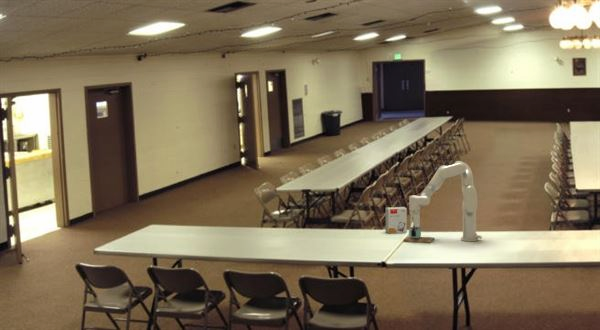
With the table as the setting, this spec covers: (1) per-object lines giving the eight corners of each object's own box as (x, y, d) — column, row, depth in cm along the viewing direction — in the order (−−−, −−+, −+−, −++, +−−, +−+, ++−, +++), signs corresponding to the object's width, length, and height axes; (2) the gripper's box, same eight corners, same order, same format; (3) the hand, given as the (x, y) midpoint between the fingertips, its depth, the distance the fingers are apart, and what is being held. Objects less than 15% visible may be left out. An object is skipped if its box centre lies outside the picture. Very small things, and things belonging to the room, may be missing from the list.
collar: (420, 235, 539) (420, 228, 539) (418, 237, 533) (418, 230, 532) (411, 235, 542) (411, 227, 542) (409, 237, 536) (409, 229, 535)
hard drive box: (387, 234, 563) (387, 209, 561) (385, 232, 571) (385, 207, 569) (407, 232, 565) (406, 208, 563) (404, 230, 573) (404, 206, 571)
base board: (434, 239, 539) (434, 232, 538) (429, 243, 526) (429, 236, 526) (408, 237, 547) (408, 230, 547) (403, 241, 535) (403, 234, 534)
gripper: (416, 214, 526) (416, 237, 528) (422, 210, 542) (423, 233, 544) (406, 213, 529) (406, 237, 531) (413, 209, 545) (413, 232, 547)
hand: (415, 235), depth 538 cm, fingers closed on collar, 6 cm apart
